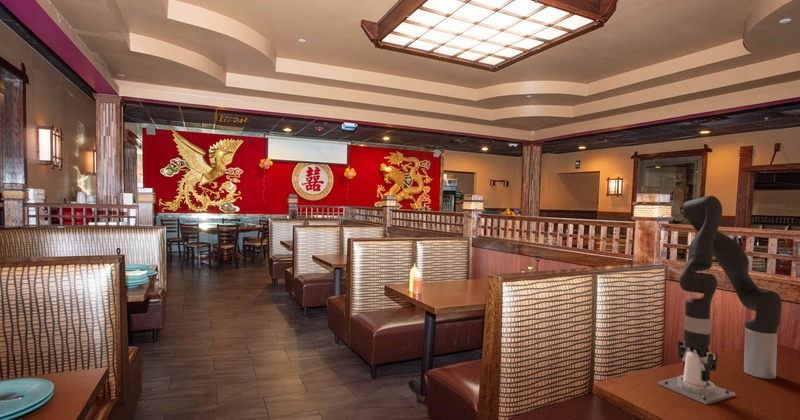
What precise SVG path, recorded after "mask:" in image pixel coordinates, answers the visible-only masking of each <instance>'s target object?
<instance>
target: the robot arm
mask: <svg viewBox="0 0 800 420" xmlns="http://www.w3.org/2000/svg"><path fill="white" fill-rule="evenodd" d="M682 211H683V214H684V216H685V218H686V219H687V221H688V222H689V223H690V225H691V226H692V228H693V229H694V230H695V231H696V232H697V233H696V234H695V236H694V238H693V239H692V240H691V242H690V244H689V246H688V252H687V253H688V254H687V262H686V266H685V268H684V269H683V271H682V272H681V276H680V278H679V280H678V281H679V287H680V288H681V290H682V291H684V292H687V293H688V292H689V293H697V294H703V296H701V297H697V298H696V297H695V298H688V299H686V300H685V303H684V305H685V308H684V309H685V310H684V321H683V340H679V341H677V356H678V358H680V359H681V360H682V365H683V366H682V370H684V368H685V360H686V354H687V352H689V350H690V351H692V352H694V353H695V355H697V357H698V359H699V363H700V364H701V367H702V373H701V380H702V381H710V379H711V377H710V376H711V375H710V373H711V372H712V371H713V372H714V371H715V372H716V371H717V365H718V354H717V353H713V352H710V348H709V346H710V345H711V333H712V332H711V329H712V327H711V326H712V324H711V305H712V302H713V301H712V300H713V297H714V294H715V293H716V290H717V287H718V279H717V278H716V276H715V275H714V274H711V273H707V272H705V273H703V272H701V271H708V270H710V269H711V268H712V265H713V257H714V258H715V260H716V261H717V263H718V264H719V266H720V268H722V271H723V272H724V274H725V275H726V277H727V278H728V280H729V282H730V283H731V285H732V287H733V289H734V291H735V293H736V295H737V297H738V299H739V301H740V303H741V304H742V306H743V307H745V308H747V309H748V310H751V311H753V312H755V317H754V318H752V319H746V320H745V321H744V322H745V323H744V353H743V354H744V356H743V359H744V360H743V371H744V373H745V374H747V375H750V376H753V377H756V378H760V379H764V380H765V379H767V380H773V379H774V380H775V379H776V378H777V352H778V351H777V348H778V346H777V345H778V342H777V341H778V339H777V338H778V329H779V327H780V324H781V317H782V310H783V309H782V308H783V307H782V306H783V304H782V299H781V295H779V294H778V293H777V292H776V291H774V290H771V289H765V288H761V287H758V286H757V285H756V283H755V282H754V281H753V279H752V278H751V276H750V274H749V266H750V261H749V257H748V255H747V254H746V252H745V251H744V249H743V247H742V246H741V244H740V243H739V242H738V241H737V240H736V239H733V238H731V237H730V236H728V235H726V234H725V233H723V232H720V231H719V227H720V223H721V220H722V217H723V216H722V215H723V205H722V202H721V201H720V200H719V198H718V197H716V196H715V195H707V196H706V195H705V196H702V197H699V198H694V199H691V200H687V201H685V202H684V203H683V204H682ZM699 354H700V355H699ZM706 356H707V361H702V360H701V358H703V357H706ZM704 363H706V367H705V365H704Z"/></svg>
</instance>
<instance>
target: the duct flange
mask: <svg viewBox="0 0 800 420" xmlns="http://www.w3.org/2000/svg"><path fill="white" fill-rule="evenodd" d="M683 376H684V374H681V375H678V376H676V377H675V376H674V377H671V378H667V379H663V380H658V381H657V384H658V386H661V387H663V388H666V389H669V390H670V391H672V392H675V393H678V394H680V395H682V396H684V397H687V398H690V399H692V400H694V401H697V402H699V403H702V404H704V405H706V406H707V405H710V404H714V403H716V402H720V401H724V400H726V399H730V398H733V397H736V392H733V391H730V390H729V389H725V388H722V387H720V386H717V385H715V383H713V382H712V381H710V380H709V381H706V387H699V386H694V385H691V384H688V383H685V382H684V381H683Z"/></svg>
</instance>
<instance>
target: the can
mask: <svg viewBox="0 0 800 420" xmlns="http://www.w3.org/2000/svg"><path fill="white" fill-rule="evenodd" d="M699 355H700V354H699ZM701 360H702V361H707V356H706V357H703V358H701ZM704 365H705V367H706V363H704ZM701 373H702V367H701V364H700V363H699V359H698V357H697V355H695V353H694V352H692V351H690V350H689V352H687V354H686V360H685V368H684V369H683V375H684V376H683V381H684V382H685V383H688V384H691V385H694V386H699V387H706V381H702V380H701Z"/></svg>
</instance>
